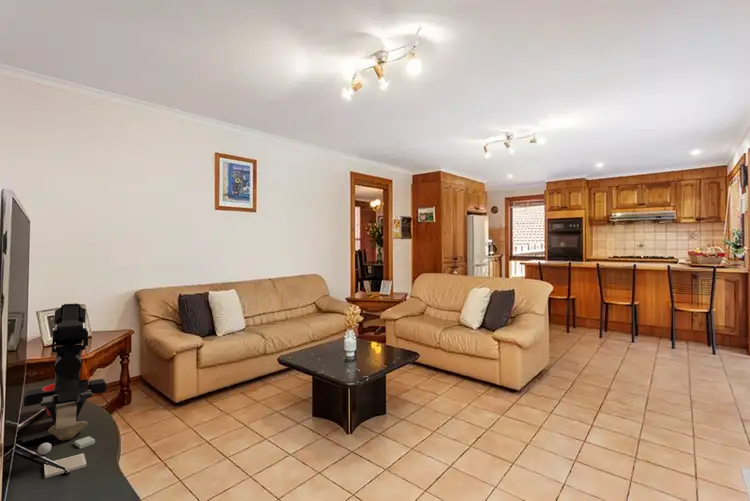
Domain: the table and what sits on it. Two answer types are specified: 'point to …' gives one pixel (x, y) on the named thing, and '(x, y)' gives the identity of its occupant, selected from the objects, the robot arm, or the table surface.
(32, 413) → the table surface
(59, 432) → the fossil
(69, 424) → the block
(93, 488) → the table surface
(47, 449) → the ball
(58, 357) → the robot arm
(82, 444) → the tile
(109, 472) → the table surface
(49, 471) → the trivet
